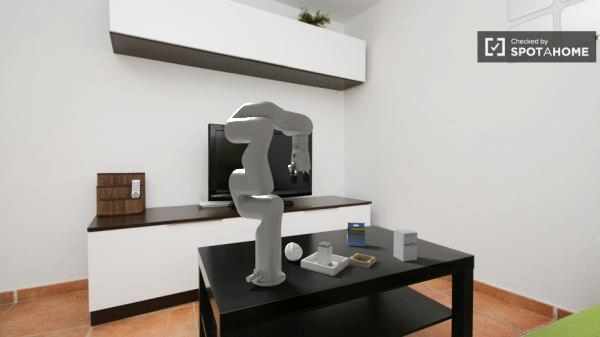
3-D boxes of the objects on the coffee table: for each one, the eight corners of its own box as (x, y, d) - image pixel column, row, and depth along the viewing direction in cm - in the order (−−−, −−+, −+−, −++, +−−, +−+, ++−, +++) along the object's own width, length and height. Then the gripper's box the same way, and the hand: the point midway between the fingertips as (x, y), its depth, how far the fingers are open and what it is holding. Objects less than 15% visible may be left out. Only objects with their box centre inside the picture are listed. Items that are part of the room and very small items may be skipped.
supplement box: (403, 262, 119) (403, 233, 118) (393, 256, 126) (393, 229, 125) (417, 260, 121) (417, 232, 120) (406, 254, 128) (407, 228, 127)
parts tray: (333, 276, 104) (333, 268, 104) (300, 267, 112) (300, 260, 112) (348, 264, 115) (348, 257, 115) (318, 257, 124) (318, 251, 124)
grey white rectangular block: (327, 267, 111) (327, 245, 110) (317, 265, 113) (317, 243, 113) (332, 264, 114) (332, 243, 114) (322, 262, 117) (322, 241, 117)
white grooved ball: (295, 264, 115) (295, 246, 115) (281, 261, 119) (281, 243, 119) (305, 259, 122) (305, 241, 122) (291, 255, 126) (291, 239, 126)
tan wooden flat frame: (368, 268, 112) (368, 263, 112) (348, 263, 117) (348, 258, 117) (375, 261, 119) (375, 256, 119) (356, 257, 124) (356, 252, 124)
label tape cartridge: (363, 244, 144) (364, 221, 143) (364, 246, 140) (365, 222, 139) (346, 243, 145) (347, 220, 144) (347, 246, 141) (347, 222, 140)
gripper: (296, 146, 121) (296, 184, 122) (316, 148, 135) (316, 182, 136) (282, 147, 126) (282, 184, 126) (303, 148, 140) (303, 181, 140)
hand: (300, 183), depth 131 cm, fingers open, 9 cm apart
